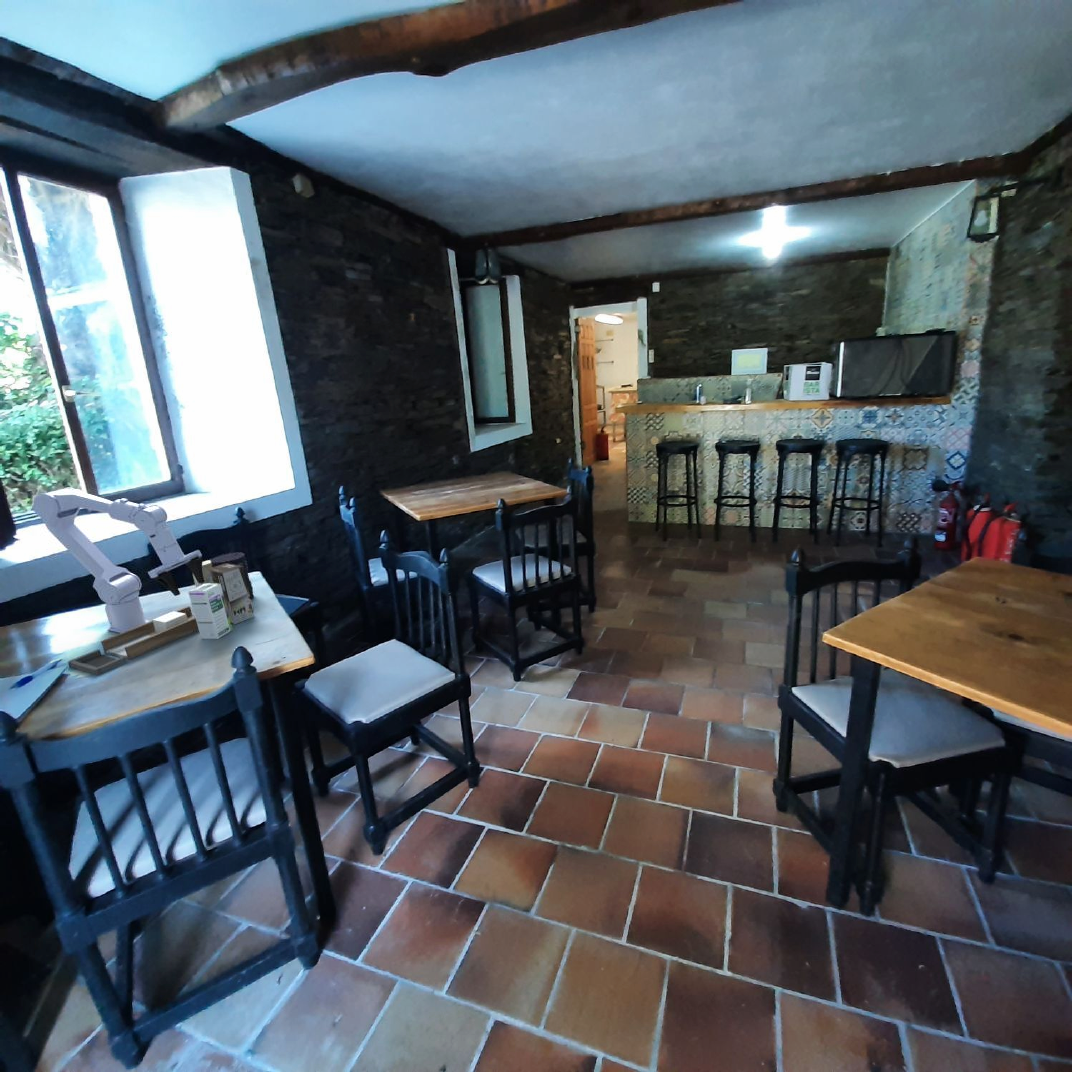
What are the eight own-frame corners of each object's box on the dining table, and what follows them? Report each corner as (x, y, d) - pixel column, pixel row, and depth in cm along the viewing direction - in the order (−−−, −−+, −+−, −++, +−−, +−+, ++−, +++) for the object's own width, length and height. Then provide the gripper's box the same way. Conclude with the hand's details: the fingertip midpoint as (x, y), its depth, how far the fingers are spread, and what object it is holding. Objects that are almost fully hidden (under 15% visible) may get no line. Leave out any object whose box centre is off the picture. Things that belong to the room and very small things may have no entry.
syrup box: (218, 639, 151) (205, 590, 147) (200, 639, 153) (187, 590, 149) (233, 630, 157) (221, 582, 153) (215, 629, 158) (203, 582, 154)
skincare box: (205, 602, 180) (196, 567, 177) (198, 600, 183) (189, 565, 179) (224, 595, 185) (216, 560, 182) (217, 593, 188) (209, 559, 184)
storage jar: (231, 608, 173) (220, 563, 169) (214, 603, 178) (203, 560, 174) (260, 597, 181) (251, 554, 177) (244, 592, 186) (234, 550, 182)
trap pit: (69, 666, 142) (67, 661, 141) (99, 654, 148) (97, 649, 147) (97, 675, 136) (95, 670, 136) (127, 661, 142) (125, 656, 142)
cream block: (156, 632, 157) (152, 619, 156) (176, 623, 162) (173, 611, 161) (168, 635, 155) (165, 622, 153) (189, 626, 160) (186, 613, 159)
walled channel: (104, 652, 148) (100, 641, 147) (190, 616, 169) (187, 606, 168) (130, 659, 143) (126, 647, 142) (216, 621, 164) (213, 610, 163)
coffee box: (255, 616, 166) (244, 565, 161) (234, 624, 160) (222, 573, 156) (238, 611, 170) (227, 562, 166) (218, 619, 165) (205, 569, 161)
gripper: (148, 555, 149) (173, 599, 153) (197, 534, 161) (219, 576, 165) (135, 559, 153) (160, 601, 156) (184, 538, 165) (206, 578, 168)
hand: (190, 588), depth 161 cm, fingers open, 7 cm apart
